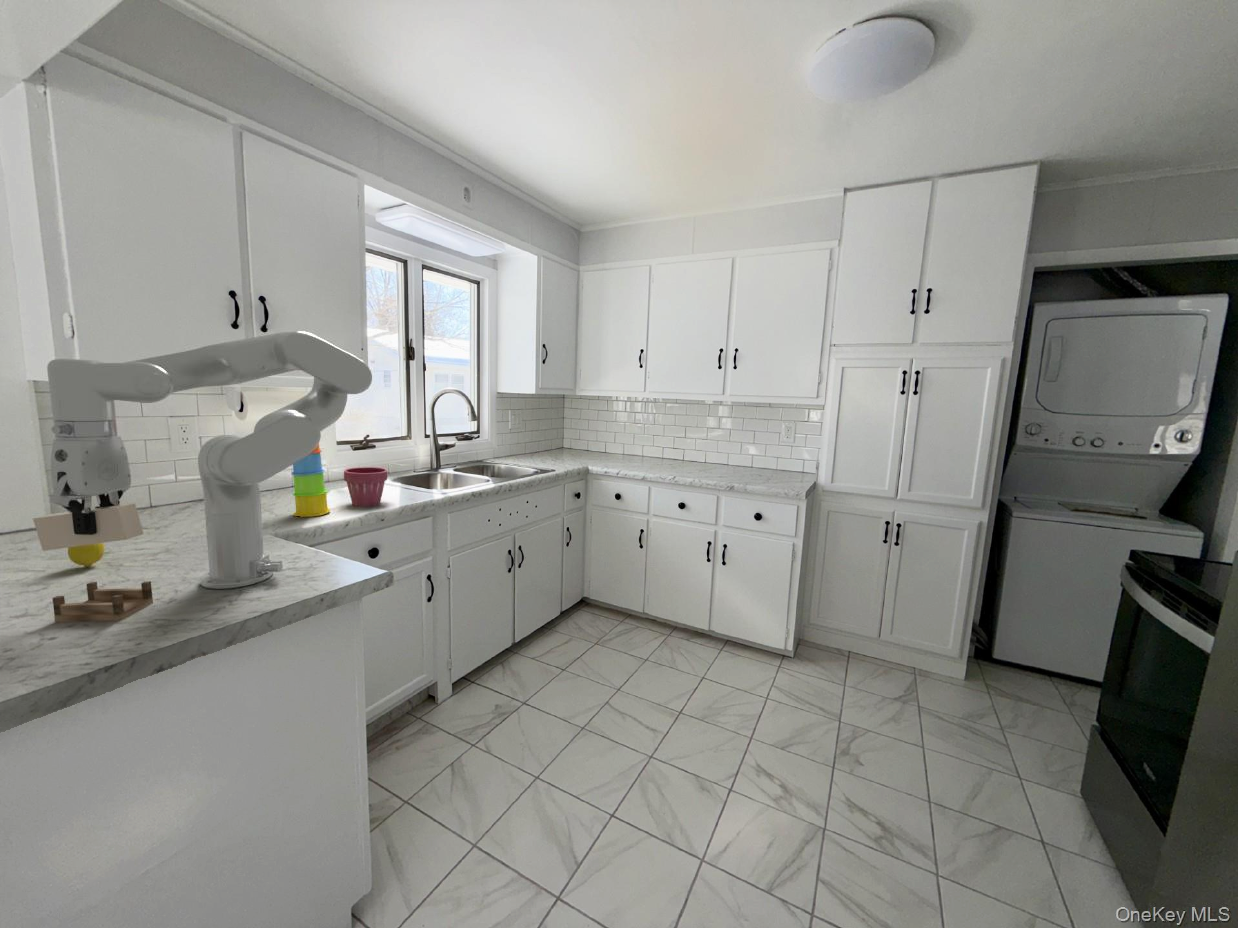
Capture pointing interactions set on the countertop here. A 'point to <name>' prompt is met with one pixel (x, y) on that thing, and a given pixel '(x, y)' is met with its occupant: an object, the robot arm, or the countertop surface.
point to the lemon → (86, 554)
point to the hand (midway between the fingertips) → (97, 529)
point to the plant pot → (365, 485)
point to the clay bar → (109, 525)
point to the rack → (104, 604)
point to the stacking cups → (310, 486)
